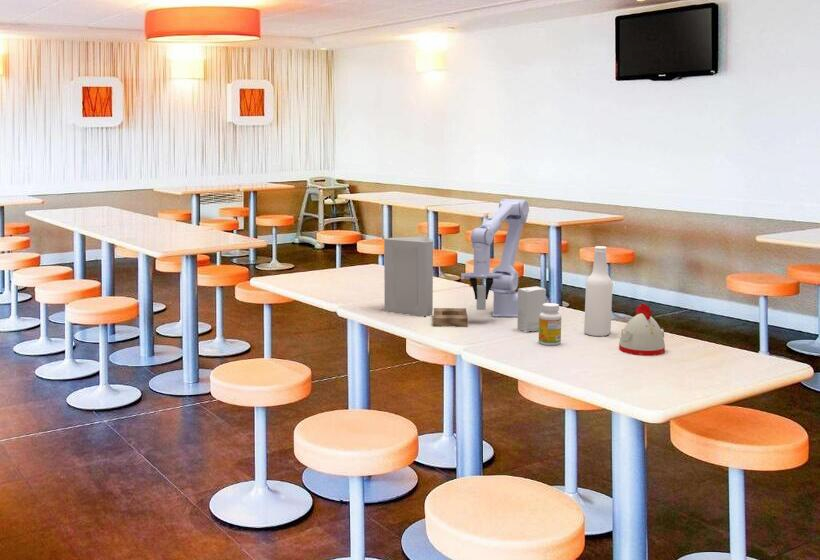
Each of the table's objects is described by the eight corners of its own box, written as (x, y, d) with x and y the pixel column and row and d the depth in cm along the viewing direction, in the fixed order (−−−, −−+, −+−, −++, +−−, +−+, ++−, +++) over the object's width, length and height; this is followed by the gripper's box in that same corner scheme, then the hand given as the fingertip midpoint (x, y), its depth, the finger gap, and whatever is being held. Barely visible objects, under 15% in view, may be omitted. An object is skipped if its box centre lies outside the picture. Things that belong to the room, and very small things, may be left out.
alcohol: (579, 332, 298) (582, 245, 293) (601, 330, 301) (604, 244, 296) (593, 337, 289) (596, 248, 284) (615, 335, 293) (619, 247, 288)
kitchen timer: (633, 357, 265) (635, 309, 262) (611, 346, 278) (613, 300, 275) (673, 354, 268) (675, 306, 266) (649, 343, 281) (651, 298, 279)
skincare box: (536, 327, 305) (537, 285, 303) (546, 330, 300) (547, 288, 297) (516, 329, 302) (517, 287, 299) (525, 332, 296) (526, 290, 294)
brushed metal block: (484, 306, 313) (485, 285, 312) (485, 309, 309) (485, 287, 307) (476, 306, 314) (476, 285, 312) (477, 309, 309) (477, 287, 307)
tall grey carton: (446, 310, 334) (446, 238, 329) (426, 317, 321) (427, 242, 317) (404, 305, 344) (404, 235, 339) (383, 311, 331) (383, 239, 326)
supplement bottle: (536, 340, 285) (537, 302, 283) (557, 340, 286) (558, 302, 284) (541, 345, 278) (542, 306, 276) (563, 345, 279) (564, 306, 276)
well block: (465, 316, 323) (465, 308, 323) (467, 326, 305) (467, 318, 305) (433, 315, 323) (433, 308, 323) (433, 326, 306) (433, 318, 305)
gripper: (461, 263, 305) (461, 300, 307) (502, 263, 304) (502, 301, 306) (461, 260, 312) (460, 297, 314) (501, 260, 311) (500, 297, 313)
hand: (481, 298), depth 311 cm, fingers closed on brushed metal block, 3 cm apart
